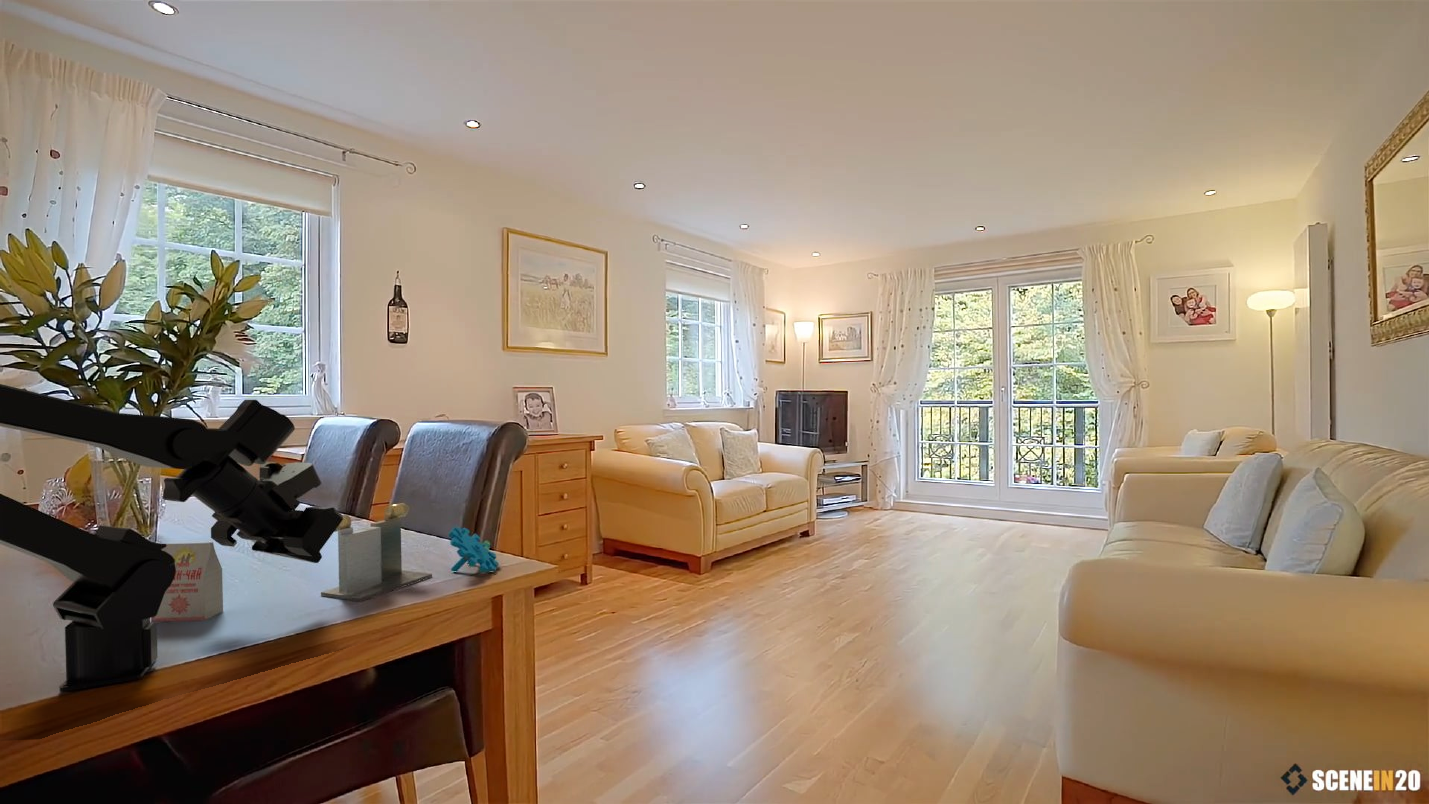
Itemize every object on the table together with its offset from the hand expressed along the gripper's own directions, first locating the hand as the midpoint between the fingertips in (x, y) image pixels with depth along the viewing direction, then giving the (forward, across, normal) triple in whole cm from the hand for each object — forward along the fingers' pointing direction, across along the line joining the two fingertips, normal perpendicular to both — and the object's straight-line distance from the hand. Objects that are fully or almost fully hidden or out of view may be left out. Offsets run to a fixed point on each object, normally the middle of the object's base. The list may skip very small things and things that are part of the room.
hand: (318, 559), depth 94 cm
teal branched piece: (+21, -7, -11) cm, 25 cm away
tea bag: (-2, +14, +11) cm, 18 cm away
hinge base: (+12, +1, -3) cm, 13 cm away
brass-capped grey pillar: (+10, +1, 0) cm, 10 cm away
